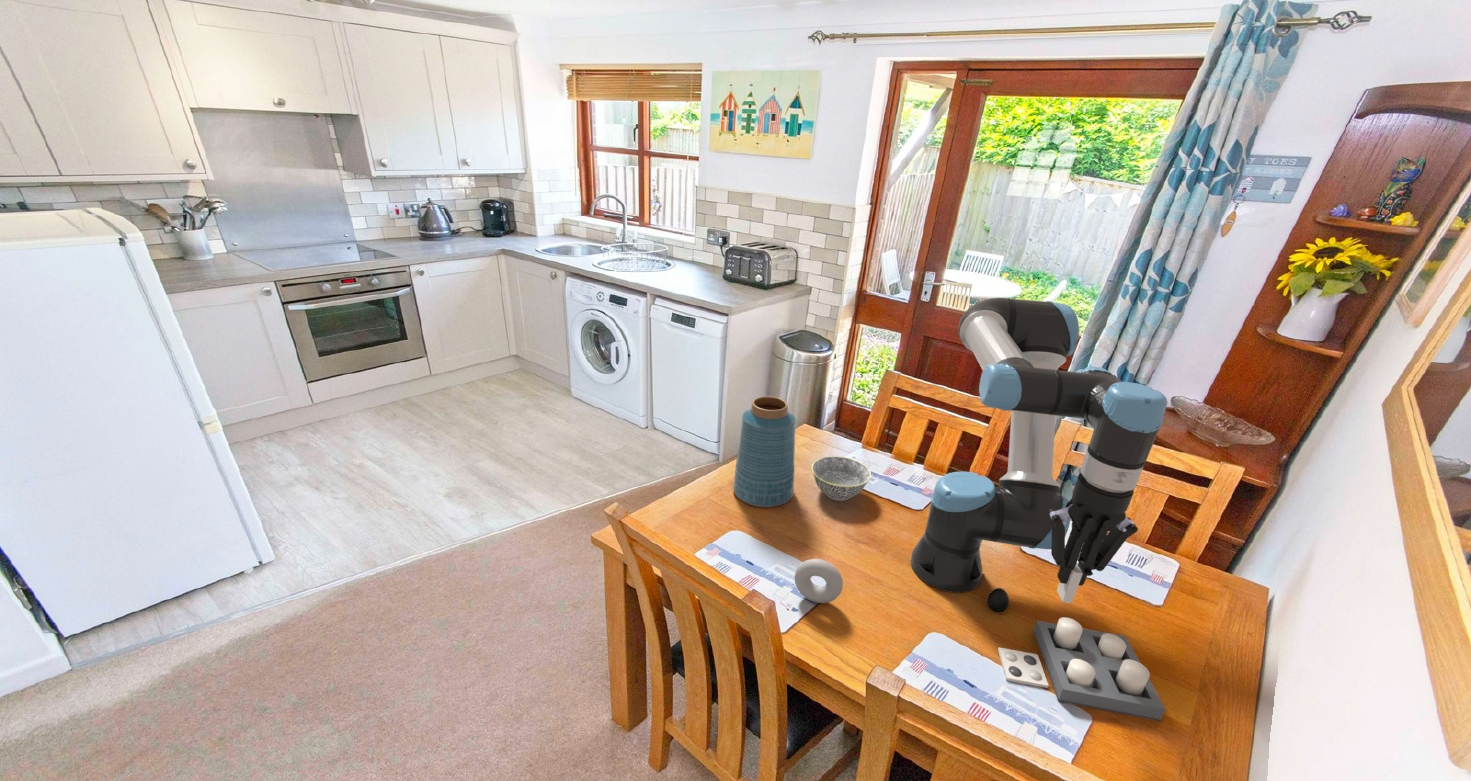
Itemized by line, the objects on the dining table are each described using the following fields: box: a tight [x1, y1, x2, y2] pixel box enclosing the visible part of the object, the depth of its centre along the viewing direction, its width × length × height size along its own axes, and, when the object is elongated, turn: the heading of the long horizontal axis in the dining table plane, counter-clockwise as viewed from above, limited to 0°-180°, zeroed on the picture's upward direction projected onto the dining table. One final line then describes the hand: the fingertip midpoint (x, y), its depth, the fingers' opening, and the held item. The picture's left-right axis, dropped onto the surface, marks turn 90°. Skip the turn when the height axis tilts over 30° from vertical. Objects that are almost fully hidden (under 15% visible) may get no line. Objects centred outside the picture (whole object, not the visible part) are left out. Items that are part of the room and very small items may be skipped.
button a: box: [1066, 659, 1095, 687], centre depth 101 cm, size 4×4×4 cm
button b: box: [1115, 659, 1151, 696], centre depth 99 cm, size 4×4×4 cm
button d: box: [1098, 632, 1126, 659], centre depth 107 cm, size 4×4×4 cm
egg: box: [986, 587, 1010, 614], centre depth 118 cm, size 4×4×5 cm
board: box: [1032, 620, 1166, 722], centre depth 105 cm, size 16×16×3 cm
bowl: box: [811, 455, 872, 502], centre depth 155 cm, size 16×16×8 cm
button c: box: [1053, 616, 1084, 650], centre depth 108 cm, size 4×4×4 cm
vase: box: [732, 395, 797, 508], centre depth 150 cm, size 16×16×27 cm
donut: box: [794, 558, 844, 604], centre depth 117 cm, size 10×4×10 cm, turn 71°
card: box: [997, 647, 1049, 689], centre depth 105 cm, size 7×7×1 cm
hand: (1064, 596), depth 98 cm, fingers closed
